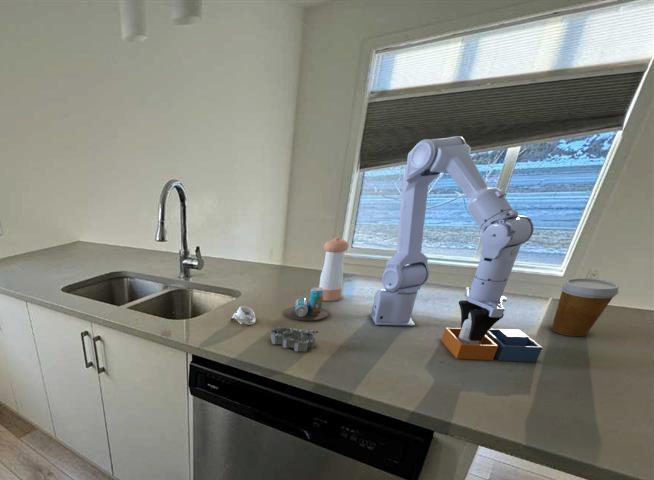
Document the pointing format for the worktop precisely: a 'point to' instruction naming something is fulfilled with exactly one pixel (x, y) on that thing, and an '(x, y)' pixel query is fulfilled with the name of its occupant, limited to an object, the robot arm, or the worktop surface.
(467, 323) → the pill bottle
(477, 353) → the amber bin
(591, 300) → the disposable coffee cup
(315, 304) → the round serving tray
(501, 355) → the blue bin
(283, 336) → the egg carton
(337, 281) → the pepper shaker
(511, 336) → the blue block
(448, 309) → the worktop surface
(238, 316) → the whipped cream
